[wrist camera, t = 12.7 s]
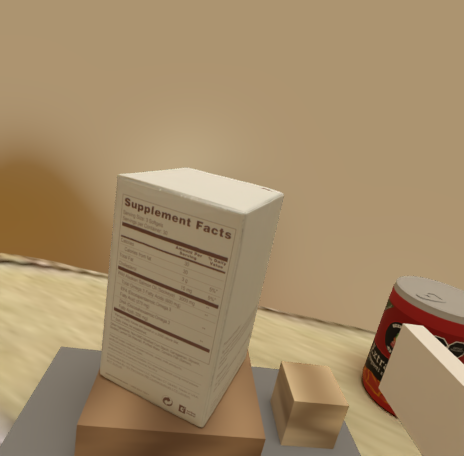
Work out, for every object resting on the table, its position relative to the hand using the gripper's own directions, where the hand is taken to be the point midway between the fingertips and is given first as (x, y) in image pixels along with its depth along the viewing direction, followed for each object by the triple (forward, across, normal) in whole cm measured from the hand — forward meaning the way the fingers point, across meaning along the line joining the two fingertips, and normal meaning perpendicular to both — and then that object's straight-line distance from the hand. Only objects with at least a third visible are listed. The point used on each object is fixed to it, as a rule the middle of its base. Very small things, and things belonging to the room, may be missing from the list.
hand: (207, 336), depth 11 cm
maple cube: (+11, -10, +14) cm, 20 cm away
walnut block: (+10, 0, +14) cm, 17 cm away
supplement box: (+10, 0, +10) cm, 14 cm away
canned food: (+16, -22, +15) cm, 31 cm away
